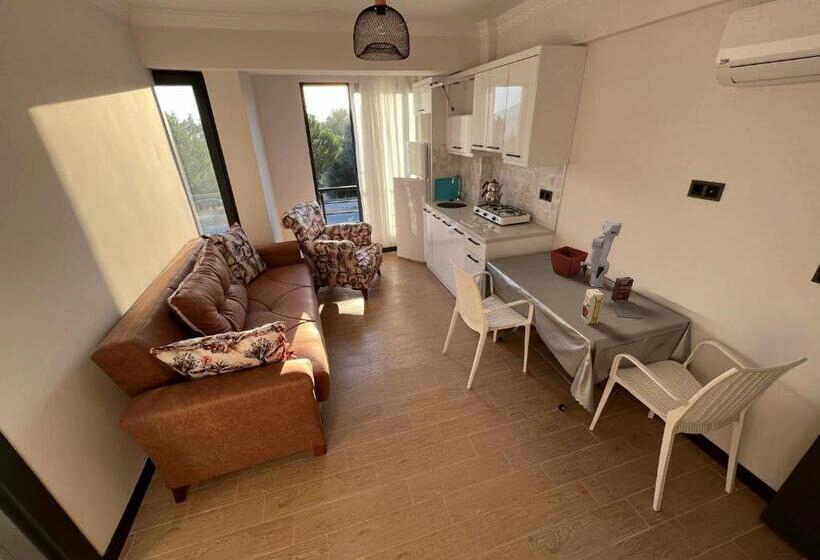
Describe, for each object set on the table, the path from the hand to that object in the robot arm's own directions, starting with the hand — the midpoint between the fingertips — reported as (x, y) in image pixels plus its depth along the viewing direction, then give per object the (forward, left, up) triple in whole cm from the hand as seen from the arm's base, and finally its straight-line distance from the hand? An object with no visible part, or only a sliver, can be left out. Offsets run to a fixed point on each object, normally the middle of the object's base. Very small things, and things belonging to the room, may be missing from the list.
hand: (590, 277), depth 211 cm
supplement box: (+5, +18, -13) cm, 23 cm away
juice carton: (+32, -5, -13) cm, 35 cm away
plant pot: (-36, -7, -13) cm, 39 cm away
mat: (+17, +18, -13) cm, 28 cm away
